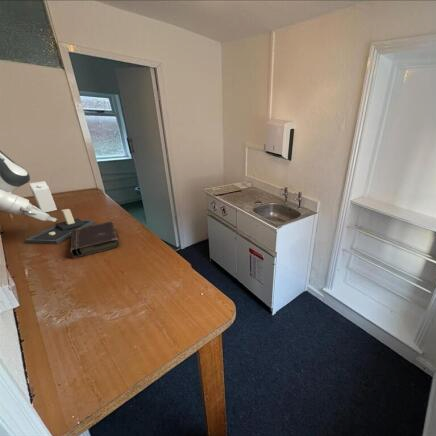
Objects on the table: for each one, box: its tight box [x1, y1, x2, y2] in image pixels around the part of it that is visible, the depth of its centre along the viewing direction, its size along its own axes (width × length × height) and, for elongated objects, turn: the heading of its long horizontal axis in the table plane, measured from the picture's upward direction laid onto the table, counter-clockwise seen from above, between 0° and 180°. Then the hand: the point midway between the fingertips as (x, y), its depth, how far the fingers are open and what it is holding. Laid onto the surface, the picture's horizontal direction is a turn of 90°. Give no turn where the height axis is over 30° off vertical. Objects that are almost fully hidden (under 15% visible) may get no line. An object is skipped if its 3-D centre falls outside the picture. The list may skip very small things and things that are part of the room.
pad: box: [34, 230, 71, 240], centre depth 121 cm, size 10×10×2 cm
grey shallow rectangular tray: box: [24, 219, 96, 245], centre depth 127 cm, size 15×25×2 cm, turn 1°
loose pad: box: [55, 208, 86, 230], centre depth 130 cm, size 10×10×9 cm
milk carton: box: [28, 180, 58, 213], centre depth 149 cm, size 7×7×19 cm
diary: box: [69, 221, 120, 259], centre depth 118 cm, size 19×25×5 cm
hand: (52, 218), depth 124 cm, fingers open, 8 cm apart
